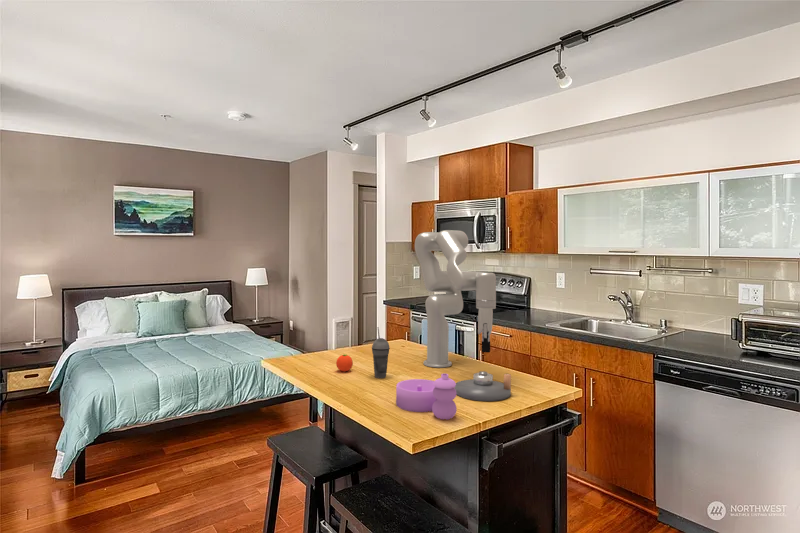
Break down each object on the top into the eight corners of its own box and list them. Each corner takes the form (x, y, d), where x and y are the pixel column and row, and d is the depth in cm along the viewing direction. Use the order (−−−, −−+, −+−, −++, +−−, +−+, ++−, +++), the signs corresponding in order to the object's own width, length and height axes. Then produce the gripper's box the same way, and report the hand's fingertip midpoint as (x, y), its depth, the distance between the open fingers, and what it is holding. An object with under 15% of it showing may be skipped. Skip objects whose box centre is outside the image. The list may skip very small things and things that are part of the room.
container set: (387, 401, 160) (388, 362, 159) (425, 395, 168) (425, 358, 167) (431, 425, 139) (431, 380, 138) (471, 416, 147) (472, 374, 146)
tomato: (337, 368, 204) (338, 352, 203) (354, 368, 203) (354, 352, 203) (334, 373, 196) (334, 356, 195) (351, 373, 195) (351, 356, 195)
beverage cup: (387, 379, 186) (387, 329, 186) (369, 378, 188) (369, 328, 187) (391, 375, 194) (391, 326, 193) (373, 374, 195) (374, 325, 194)
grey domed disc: (457, 382, 183) (457, 364, 182) (510, 386, 178) (511, 368, 178) (450, 398, 163) (451, 378, 163) (510, 403, 159) (510, 382, 158)
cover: (474, 379, 180) (474, 369, 180) (493, 381, 178) (493, 370, 178) (472, 384, 173) (472, 374, 173) (492, 386, 171) (492, 375, 171)
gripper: (477, 302, 191) (477, 348, 191) (474, 306, 177) (474, 355, 177) (496, 303, 190) (496, 348, 190) (495, 306, 175) (495, 356, 175)
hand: (485, 351), depth 183 cm, fingers closed
